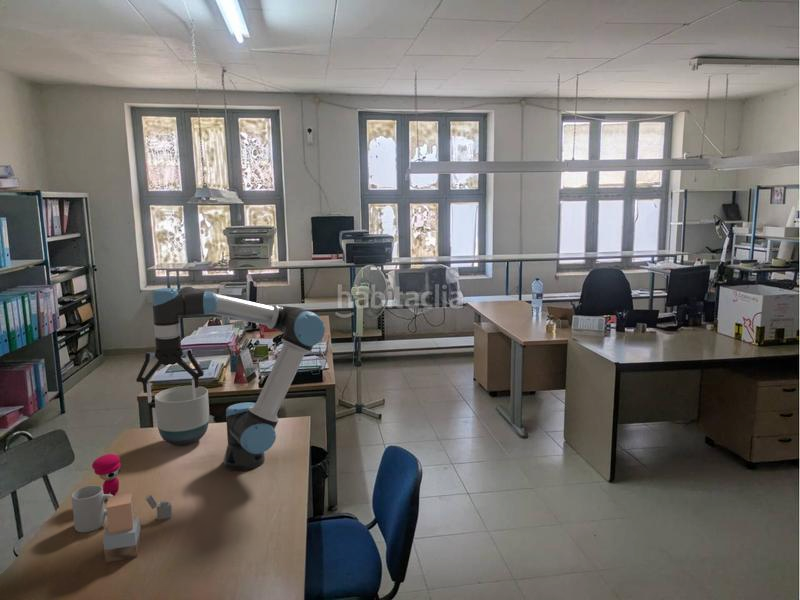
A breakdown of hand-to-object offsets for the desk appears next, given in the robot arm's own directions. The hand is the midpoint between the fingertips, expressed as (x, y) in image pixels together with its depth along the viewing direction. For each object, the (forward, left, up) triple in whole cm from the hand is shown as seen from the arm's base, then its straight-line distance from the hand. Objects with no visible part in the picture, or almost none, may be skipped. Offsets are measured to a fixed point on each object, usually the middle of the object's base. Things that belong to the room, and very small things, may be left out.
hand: (172, 399), depth 179 cm
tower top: (+13, +27, -31) cm, 43 cm away
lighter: (+5, +12, -35) cm, 37 cm away
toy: (+22, -7, -35) cm, 42 cm away
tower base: (+13, +27, -35) cm, 46 cm away
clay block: (+13, +27, -27) cm, 40 cm away
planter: (+1, -46, -35) cm, 57 cm away
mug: (+23, +10, -35) cm, 43 cm away
